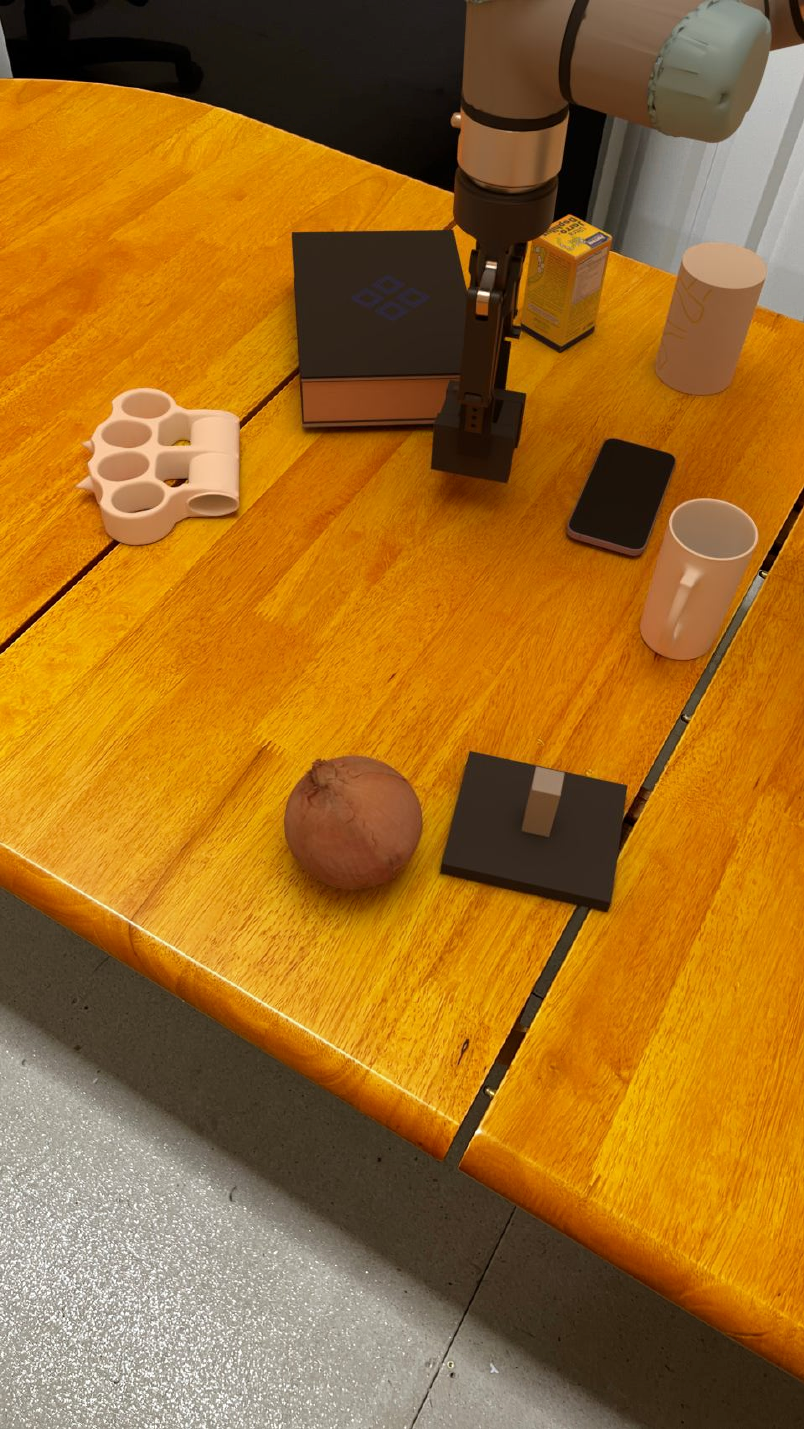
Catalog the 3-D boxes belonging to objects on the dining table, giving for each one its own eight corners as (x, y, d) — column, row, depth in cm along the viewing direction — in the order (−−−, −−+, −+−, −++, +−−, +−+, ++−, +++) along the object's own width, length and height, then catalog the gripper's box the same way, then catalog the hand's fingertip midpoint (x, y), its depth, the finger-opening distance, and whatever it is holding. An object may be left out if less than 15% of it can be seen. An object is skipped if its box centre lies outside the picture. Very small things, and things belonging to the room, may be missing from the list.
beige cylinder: (650, 345, 118) (677, 239, 108) (726, 350, 118) (760, 244, 108) (658, 392, 113) (687, 286, 103) (737, 397, 113) (773, 291, 103)
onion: (303, 864, 81) (240, 775, 75) (408, 794, 83) (354, 700, 76) (352, 945, 74) (286, 854, 68) (466, 866, 75) (412, 769, 69)
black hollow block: (520, 438, 101) (527, 393, 98) (507, 484, 97) (513, 438, 94) (446, 425, 102) (450, 379, 98) (430, 469, 98) (433, 423, 94)
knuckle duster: (240, 543, 97) (71, 548, 96) (240, 414, 108) (89, 417, 107) (237, 514, 95) (63, 519, 93) (238, 385, 105) (82, 388, 104)
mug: (653, 592, 96) (687, 487, 86) (727, 622, 94) (769, 517, 84) (609, 669, 90) (640, 566, 81) (686, 702, 88) (727, 600, 79)
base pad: (623, 796, 83) (643, 741, 77) (607, 912, 77) (627, 862, 71) (467, 761, 84) (476, 706, 78) (439, 873, 78) (446, 822, 72)
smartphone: (679, 455, 106) (643, 553, 97) (676, 464, 107) (640, 562, 98) (605, 435, 107) (564, 529, 98) (603, 444, 108) (562, 539, 99)
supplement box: (553, 308, 121) (569, 212, 112) (595, 332, 119) (614, 236, 110) (517, 329, 119) (530, 232, 110) (559, 354, 116) (577, 257, 107)
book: (302, 435, 106) (299, 376, 101) (293, 288, 121) (291, 231, 116) (479, 429, 108) (486, 372, 103) (449, 286, 123) (453, 229, 118)
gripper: (482, 103, 86) (461, 358, 104) (427, 229, 74) (414, 492, 92) (577, 116, 85) (539, 371, 103) (537, 246, 73) (502, 508, 91)
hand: (480, 428), depth 98 cm, fingers closed on black hollow block, 7 cm apart
